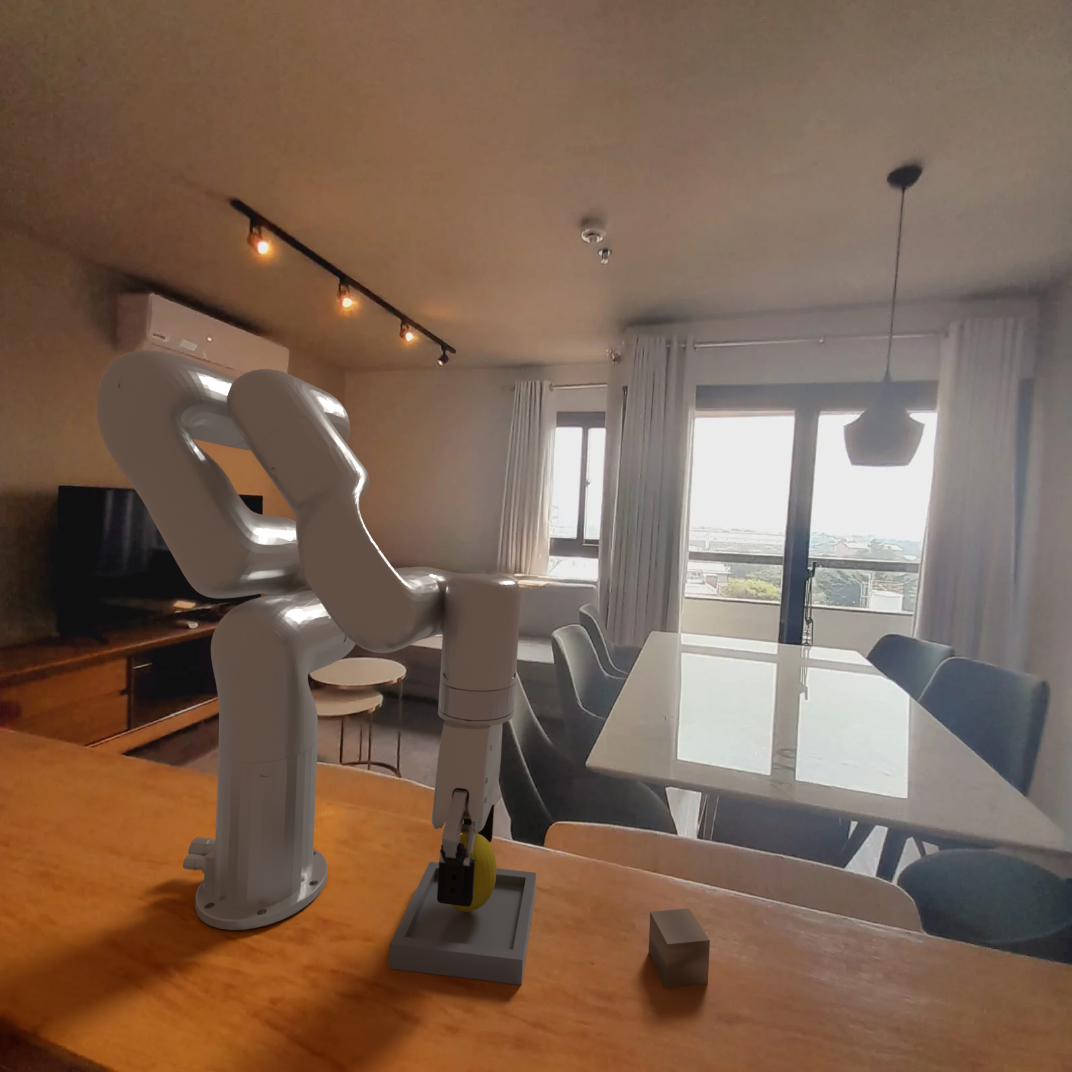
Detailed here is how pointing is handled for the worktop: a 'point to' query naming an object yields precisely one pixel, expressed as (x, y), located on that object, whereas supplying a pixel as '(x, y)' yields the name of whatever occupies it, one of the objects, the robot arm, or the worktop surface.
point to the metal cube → (678, 948)
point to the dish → (467, 931)
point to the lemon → (480, 872)
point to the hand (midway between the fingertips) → (467, 868)
